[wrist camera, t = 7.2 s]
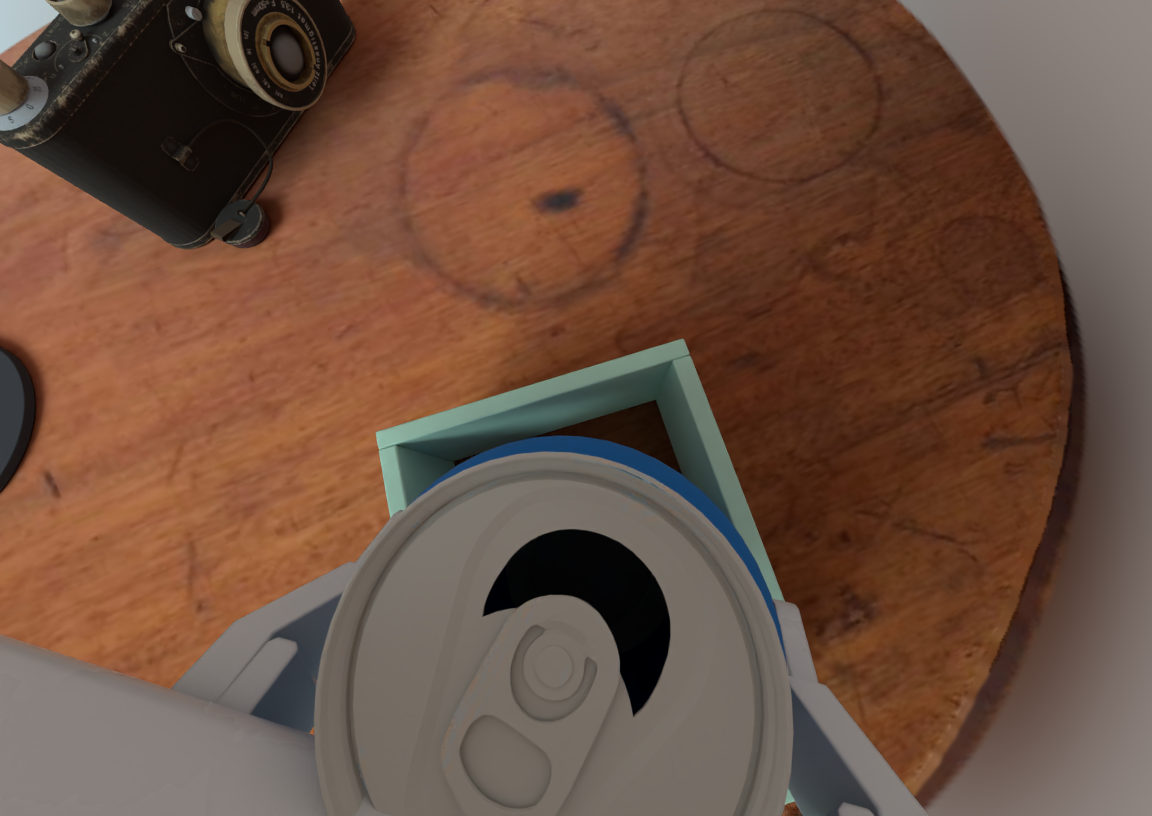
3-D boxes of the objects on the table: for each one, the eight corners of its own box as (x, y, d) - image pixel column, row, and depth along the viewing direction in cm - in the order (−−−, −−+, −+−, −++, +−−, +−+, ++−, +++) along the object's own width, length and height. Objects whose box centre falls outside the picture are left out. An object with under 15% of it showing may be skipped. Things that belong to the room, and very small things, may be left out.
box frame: (777, 694, 15) (856, 785, 10) (505, 774, 15) (454, 900, 10) (664, 383, 18) (683, 337, 13) (438, 451, 18) (374, 431, 13)
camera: (243, 278, 21) (26, 144, 13) (147, 234, 22) (-103, 87, 14) (407, 38, 24) (309, -188, 16) (315, 10, 25) (181, -213, 17)
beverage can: (703, 528, 16) (926, 582, 5) (626, 686, 15) (672, 1251, 4) (561, 449, 18) (462, 340, 6) (481, 592, 17) (171, 798, 5)
